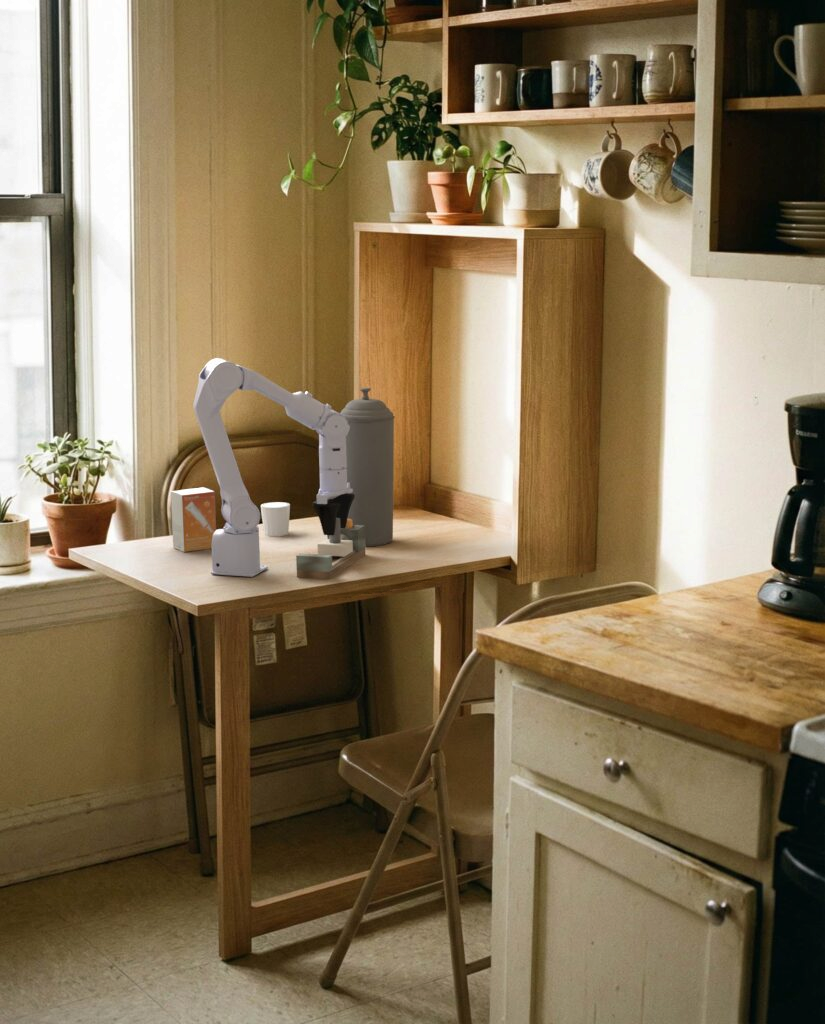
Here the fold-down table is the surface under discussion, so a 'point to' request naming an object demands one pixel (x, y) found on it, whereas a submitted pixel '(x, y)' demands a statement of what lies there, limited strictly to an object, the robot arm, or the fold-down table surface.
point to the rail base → (332, 557)
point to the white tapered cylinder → (275, 518)
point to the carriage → (335, 544)
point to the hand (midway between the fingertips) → (334, 531)
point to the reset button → (349, 524)
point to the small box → (193, 518)
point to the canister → (371, 467)
